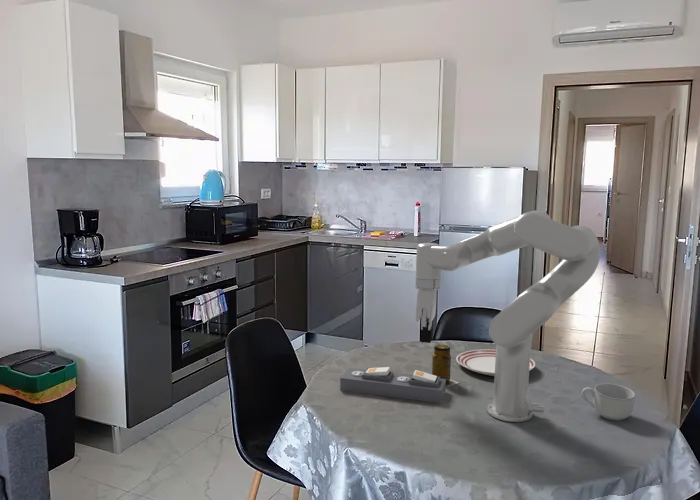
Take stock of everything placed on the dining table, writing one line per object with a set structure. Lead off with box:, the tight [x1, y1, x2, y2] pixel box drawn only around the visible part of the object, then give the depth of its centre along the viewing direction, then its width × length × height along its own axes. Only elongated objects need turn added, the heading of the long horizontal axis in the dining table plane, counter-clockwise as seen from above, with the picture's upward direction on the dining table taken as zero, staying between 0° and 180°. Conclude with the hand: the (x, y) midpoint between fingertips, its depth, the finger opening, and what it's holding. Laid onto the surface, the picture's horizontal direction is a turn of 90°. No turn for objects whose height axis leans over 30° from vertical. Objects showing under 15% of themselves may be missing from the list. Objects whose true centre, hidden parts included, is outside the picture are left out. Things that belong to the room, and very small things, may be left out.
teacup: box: [581, 382, 636, 421], centre depth 167 cm, size 14×11×8 cm
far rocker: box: [366, 366, 391, 376], centre depth 184 cm, size 7×4×1 cm, turn 73°
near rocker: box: [412, 369, 437, 383], centre depth 180 cm, size 7×4×1 cm, turn 73°
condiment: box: [431, 343, 460, 388], centre depth 191 cm, size 7×8×12 cm
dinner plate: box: [455, 348, 536, 377], centre depth 207 cm, size 27×27×3 cm
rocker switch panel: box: [339, 367, 447, 404], centre depth 183 cm, size 32×10×5 cm, turn 73°
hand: (425, 341), depth 179 cm, fingers closed
